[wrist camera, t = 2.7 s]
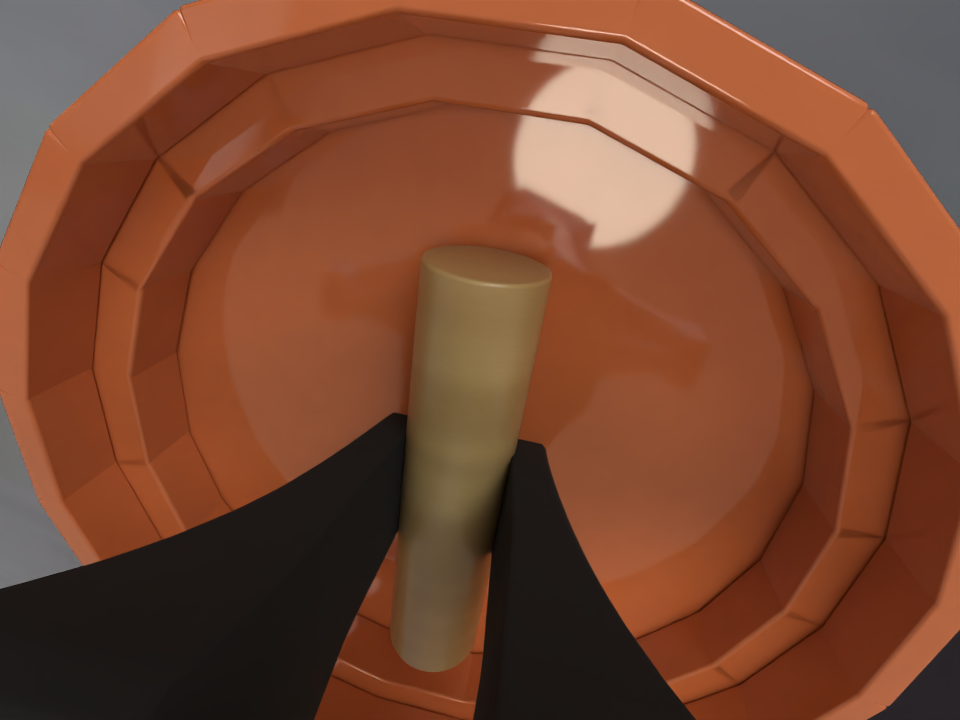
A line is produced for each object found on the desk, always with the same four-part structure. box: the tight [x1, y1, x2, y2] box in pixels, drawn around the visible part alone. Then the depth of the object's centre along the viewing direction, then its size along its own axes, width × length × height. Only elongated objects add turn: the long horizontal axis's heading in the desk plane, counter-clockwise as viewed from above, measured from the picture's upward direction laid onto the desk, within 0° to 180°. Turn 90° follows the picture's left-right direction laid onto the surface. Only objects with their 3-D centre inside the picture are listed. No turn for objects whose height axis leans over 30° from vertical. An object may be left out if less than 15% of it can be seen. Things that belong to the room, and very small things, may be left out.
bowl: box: [0, 0, 960, 720], centre depth 10 cm, size 17×17×4 cm
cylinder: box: [390, 245, 552, 672], centre depth 10 cm, size 10×2×2 cm, turn 172°
